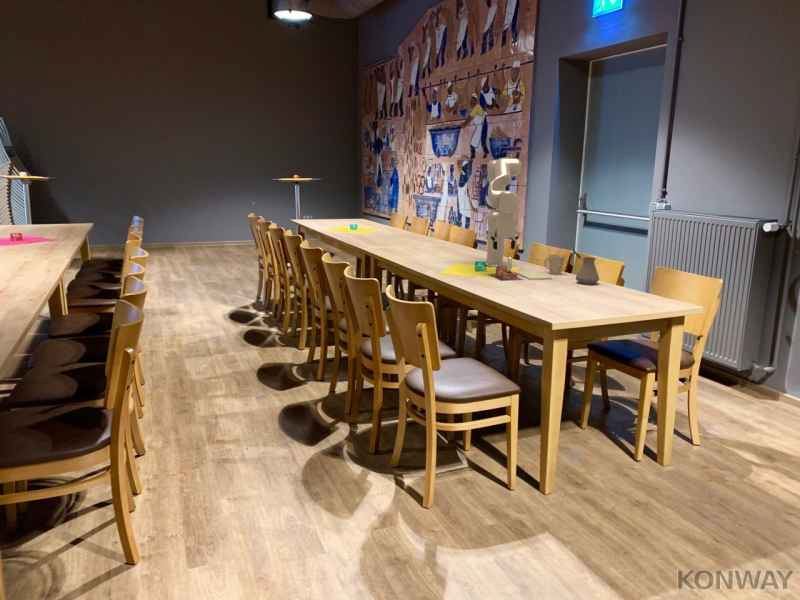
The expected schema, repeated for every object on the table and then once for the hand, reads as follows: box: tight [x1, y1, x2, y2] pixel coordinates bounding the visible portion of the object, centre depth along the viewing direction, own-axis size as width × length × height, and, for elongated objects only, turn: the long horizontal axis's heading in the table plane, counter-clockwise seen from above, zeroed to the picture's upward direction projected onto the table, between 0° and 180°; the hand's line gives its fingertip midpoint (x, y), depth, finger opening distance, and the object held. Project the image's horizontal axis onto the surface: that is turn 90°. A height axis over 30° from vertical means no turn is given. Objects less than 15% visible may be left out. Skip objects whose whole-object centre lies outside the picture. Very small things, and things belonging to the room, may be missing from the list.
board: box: [512, 270, 553, 281], centre depth 325 cm, size 20×12×2 cm, turn 15°
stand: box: [487, 256, 525, 282], centre depth 321 cm, size 18×13×12 cm
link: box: [494, 264, 518, 281], centre depth 321 cm, size 14×6×5 cm, turn 15°
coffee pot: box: [571, 249, 600, 286], centre depth 318 cm, size 21×12×15 cm, turn 17°
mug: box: [543, 254, 565, 276], centre depth 340 cm, size 8×13×10 cm, turn 39°
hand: (503, 249), depth 322 cm, fingers open, 9 cm apart
